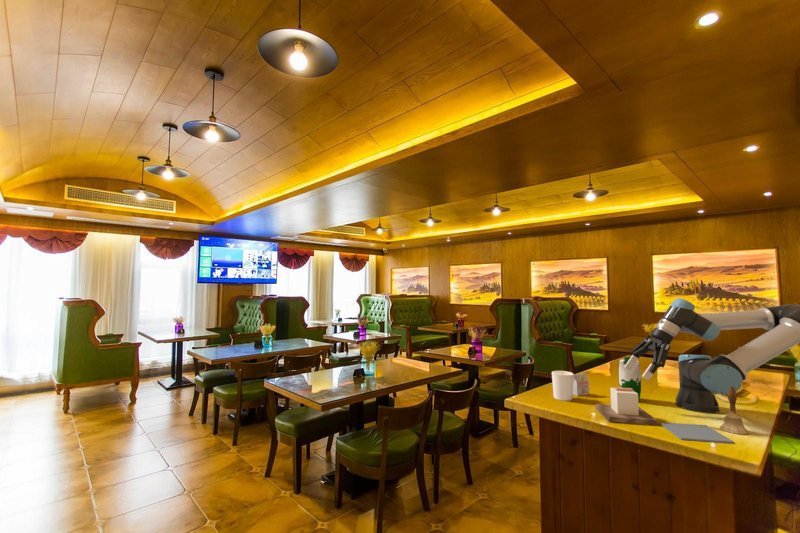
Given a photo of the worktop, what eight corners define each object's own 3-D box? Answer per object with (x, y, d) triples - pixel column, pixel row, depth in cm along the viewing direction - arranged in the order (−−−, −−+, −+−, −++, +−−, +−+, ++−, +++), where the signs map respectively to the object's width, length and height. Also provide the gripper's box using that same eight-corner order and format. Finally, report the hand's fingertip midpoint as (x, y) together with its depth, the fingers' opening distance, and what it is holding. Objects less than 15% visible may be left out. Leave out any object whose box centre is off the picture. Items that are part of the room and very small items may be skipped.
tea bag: (572, 394, 186) (571, 373, 187) (583, 393, 188) (583, 372, 188) (577, 396, 182) (576, 375, 183) (589, 395, 184) (588, 374, 185)
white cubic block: (631, 409, 156) (630, 386, 157) (638, 415, 149) (637, 391, 149) (611, 408, 158) (610, 385, 158) (617, 413, 150) (617, 390, 151)
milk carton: (619, 400, 175) (618, 357, 177) (620, 395, 183) (618, 354, 184) (641, 403, 171) (640, 359, 172) (641, 398, 178) (640, 356, 180)
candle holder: (576, 402, 173) (576, 375, 173) (554, 400, 174) (553, 374, 175) (571, 396, 182) (570, 371, 183) (550, 394, 184) (549, 370, 185)
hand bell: (713, 426, 142) (711, 384, 143) (733, 426, 143) (731, 383, 144) (734, 435, 134) (732, 389, 135) (756, 434, 134) (753, 389, 135)
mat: (706, 426, 142) (706, 425, 142) (734, 443, 126) (734, 441, 126) (659, 423, 145) (658, 421, 145) (680, 439, 129) (680, 437, 129)
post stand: (638, 411, 160) (638, 392, 160) (657, 425, 143) (656, 404, 143) (595, 408, 163) (595, 389, 163) (609, 422, 146) (608, 401, 147)
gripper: (640, 322, 170) (613, 360, 171) (676, 332, 145) (645, 377, 146) (654, 331, 170) (627, 369, 171) (693, 343, 145) (662, 388, 146)
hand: (635, 373), depth 159 cm, fingers open, 13 cm apart
